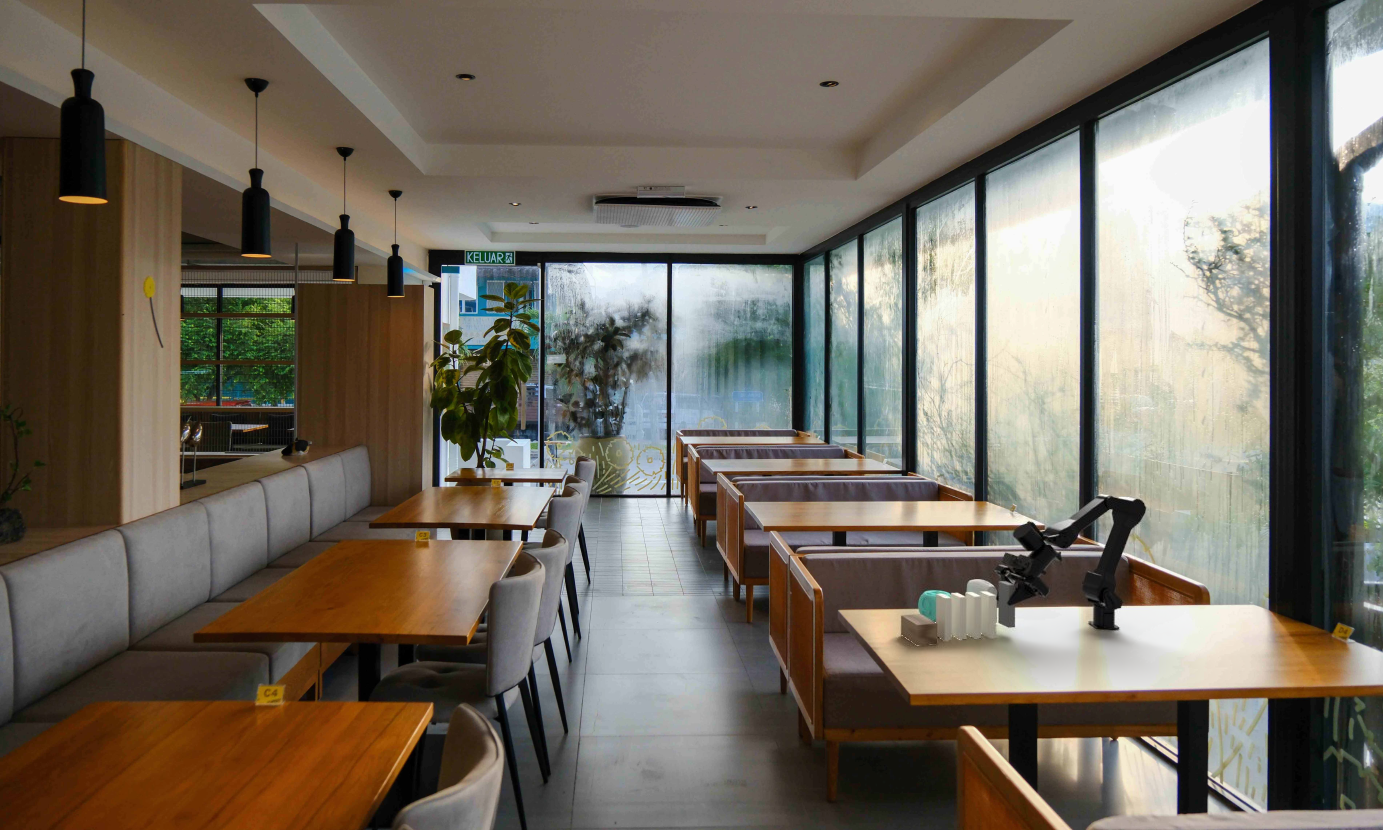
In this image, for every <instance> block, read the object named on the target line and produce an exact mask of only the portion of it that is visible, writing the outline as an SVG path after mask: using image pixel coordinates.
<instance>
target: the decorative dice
mask: <svg viewBox="0 0 1383 830" xmlns="http://www.w3.org/2000/svg"><path fill="white" fill-rule="evenodd" d="M936 594H945V595H947V596H949V597H951V593H949V592H947V591H944V590H933V589H932V590H926V591H924V592H923V593H922V594H921V595H920V596H919V600H918V603H917V604H918V605H917V608H918V613H919V614H921V615H923V616H925V617H927V618H928V619H930V620H932V621H934V622H936Z"/></svg>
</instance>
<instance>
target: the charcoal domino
mask: <svg viewBox="0 0 1383 830" xmlns="http://www.w3.org/2000/svg"><path fill="white" fill-rule="evenodd" d="M1015 586H1016V584H1015V585H1014V584H1011V583H1009V582H1006V581H998V591H999V601H998V603H997V623H998V624H1000V625H1002V626H1004V627H1006V628H1008V629H1009V628H1010V629H1011V628H1016V604H1013V605H1011V606H1009V605H1008V604H1007V602H1008V600H1009V599H1010V597H1011V596H1012V595H1013V593H1014V592H1015Z"/></svg>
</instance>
